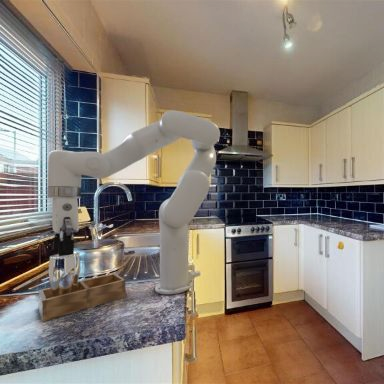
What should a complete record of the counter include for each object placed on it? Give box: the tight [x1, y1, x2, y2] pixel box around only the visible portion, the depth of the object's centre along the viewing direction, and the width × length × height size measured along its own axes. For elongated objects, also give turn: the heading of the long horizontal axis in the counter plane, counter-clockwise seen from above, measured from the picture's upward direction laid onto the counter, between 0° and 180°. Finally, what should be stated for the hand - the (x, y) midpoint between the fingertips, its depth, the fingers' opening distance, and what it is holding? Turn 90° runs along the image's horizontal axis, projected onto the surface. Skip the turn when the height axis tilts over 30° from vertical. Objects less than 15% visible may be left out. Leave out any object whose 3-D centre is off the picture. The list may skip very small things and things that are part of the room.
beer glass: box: [48, 251, 81, 297], centre depth 66 cm, size 7×7×15 cm
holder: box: [38, 272, 126, 323], centre depth 70 cm, size 20×10×5 cm, turn 137°
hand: (63, 252), depth 66 cm, fingers open, 9 cm apart
